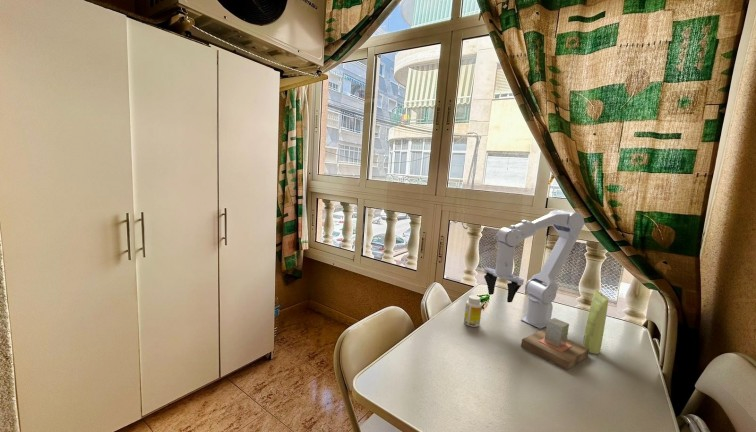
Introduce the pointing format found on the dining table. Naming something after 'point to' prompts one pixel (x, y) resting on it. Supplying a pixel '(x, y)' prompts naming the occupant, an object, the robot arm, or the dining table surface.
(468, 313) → the supplement bottle
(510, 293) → the robot arm
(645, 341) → the dining table surface
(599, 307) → the tube
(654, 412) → the dining table surface
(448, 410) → the dining table surface
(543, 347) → the board
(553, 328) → the steel column
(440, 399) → the dining table surface
